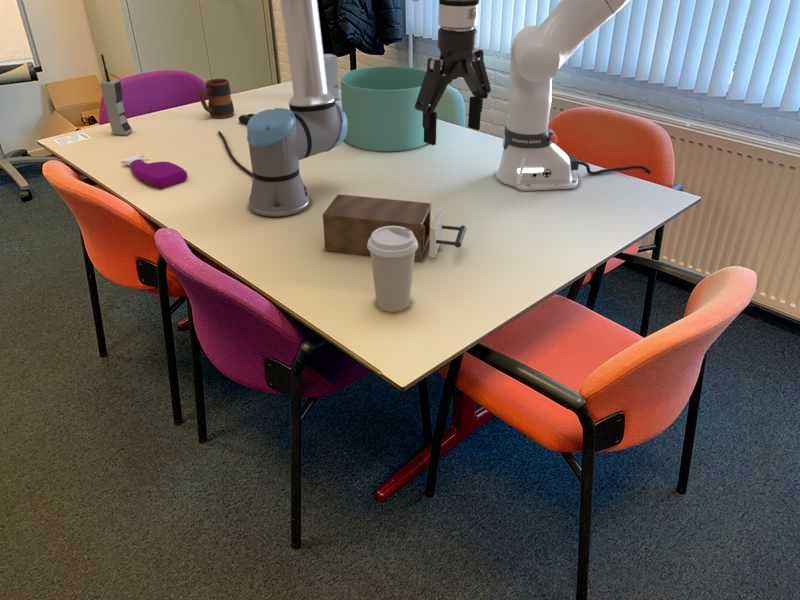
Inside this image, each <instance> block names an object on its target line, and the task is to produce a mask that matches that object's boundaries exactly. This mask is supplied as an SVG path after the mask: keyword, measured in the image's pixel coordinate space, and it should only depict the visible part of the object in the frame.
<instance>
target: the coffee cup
mask: <svg viewBox="0 0 800 600" xmlns="http://www.w3.org/2000/svg"><path fill="white" fill-rule="evenodd" d="M367 248H368V250H369V251H370V254H371V256H370V260H371V268H372V277H373V285H374V292H375V301H376V304H377V307H378V308H379V309H380V310H383V311H385V312H388V313H389V312H390V313H396V312H401V311H404V310H406V309H407V308H408V307H409V305H410V301H411V293H412V283H413V282H412V281H413V273H414V266H415V261H414V257H415V251H416V250H417V248H418V242H417V240H416V238H415V236H414V234H413V232H412V231H411V230H409V229H407V228H405V227H401V226H385V227H381V228H378V229H376V230H375V231H373V233H372V234H371V237H370V238H369V240H368V243H367Z"/></svg>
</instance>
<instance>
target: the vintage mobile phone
mask: <svg viewBox="0 0 800 600" xmlns="http://www.w3.org/2000/svg"><path fill="white" fill-rule="evenodd" d="M100 57H101V61H102V66H103V69H104V74H105V79H106V80H103V81H102V82H100V83H99V86H100V89H101V93H102V94H101V95H102V98H103V101H104V106H105V109H106V113H107V117H108V121H109V125H110V129H111V133H112V134H113V135H116V136H117V135H118V136H127V135H129V134H130V133H132V132H133V128H132V126H131V125H130V124H129V122H128V117H127V115H126V109H125V106H124V105H125V104H124V101H123V97H124V96H123V88H122V81H121V80H117V79H110V76H109V72H108V68H107V65H106V61H105V57H104V54H100Z"/></svg>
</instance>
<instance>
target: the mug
mask: <svg viewBox="0 0 800 600" xmlns="http://www.w3.org/2000/svg"><path fill="white" fill-rule="evenodd" d="M205 94H206V95H207V101H208V102H206V99H205ZM231 94H232V91H231V86H230V81H229V80H228V79H226V78H213V79H209V80H207V81H206V83H205V88H203V89H201V90H200V92H199V100H200V103H201V105H202V108H203V110H205V112H206V113H209V115H210V117H212V118H215V119H226V118H229V117H232V116H233V115H234V113H235V108H234V102H233V100H232V96H231Z"/></svg>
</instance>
